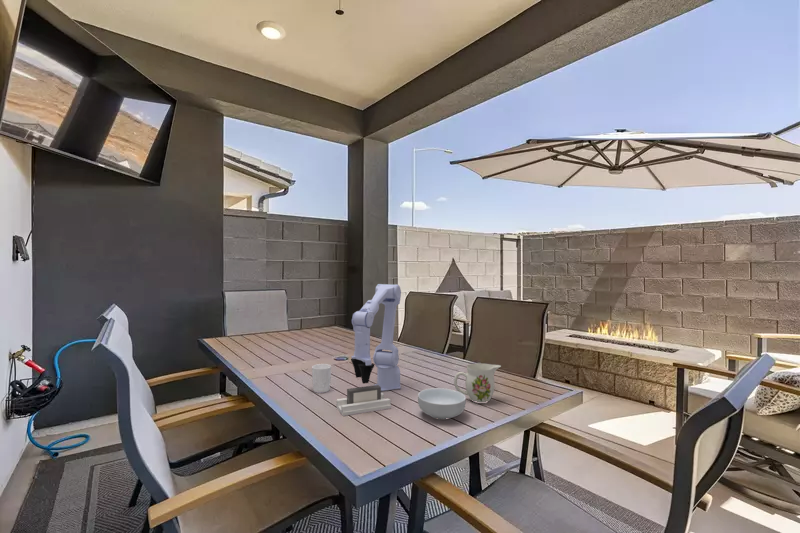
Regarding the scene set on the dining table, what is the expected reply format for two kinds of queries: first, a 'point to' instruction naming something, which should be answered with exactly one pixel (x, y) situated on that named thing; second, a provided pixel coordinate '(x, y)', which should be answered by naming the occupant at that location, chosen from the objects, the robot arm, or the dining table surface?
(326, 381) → the white cup
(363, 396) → the grey rectangular block
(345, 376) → the dining table surface
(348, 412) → the ledge
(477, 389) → the pitcher
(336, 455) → the dining table surface
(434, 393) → the cereal bowl
